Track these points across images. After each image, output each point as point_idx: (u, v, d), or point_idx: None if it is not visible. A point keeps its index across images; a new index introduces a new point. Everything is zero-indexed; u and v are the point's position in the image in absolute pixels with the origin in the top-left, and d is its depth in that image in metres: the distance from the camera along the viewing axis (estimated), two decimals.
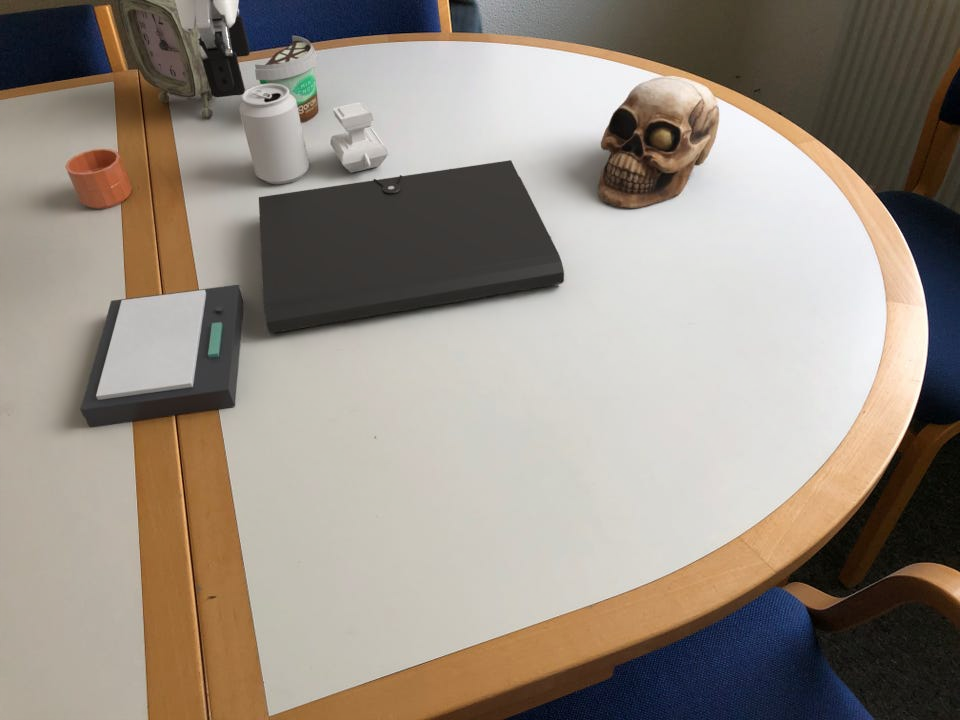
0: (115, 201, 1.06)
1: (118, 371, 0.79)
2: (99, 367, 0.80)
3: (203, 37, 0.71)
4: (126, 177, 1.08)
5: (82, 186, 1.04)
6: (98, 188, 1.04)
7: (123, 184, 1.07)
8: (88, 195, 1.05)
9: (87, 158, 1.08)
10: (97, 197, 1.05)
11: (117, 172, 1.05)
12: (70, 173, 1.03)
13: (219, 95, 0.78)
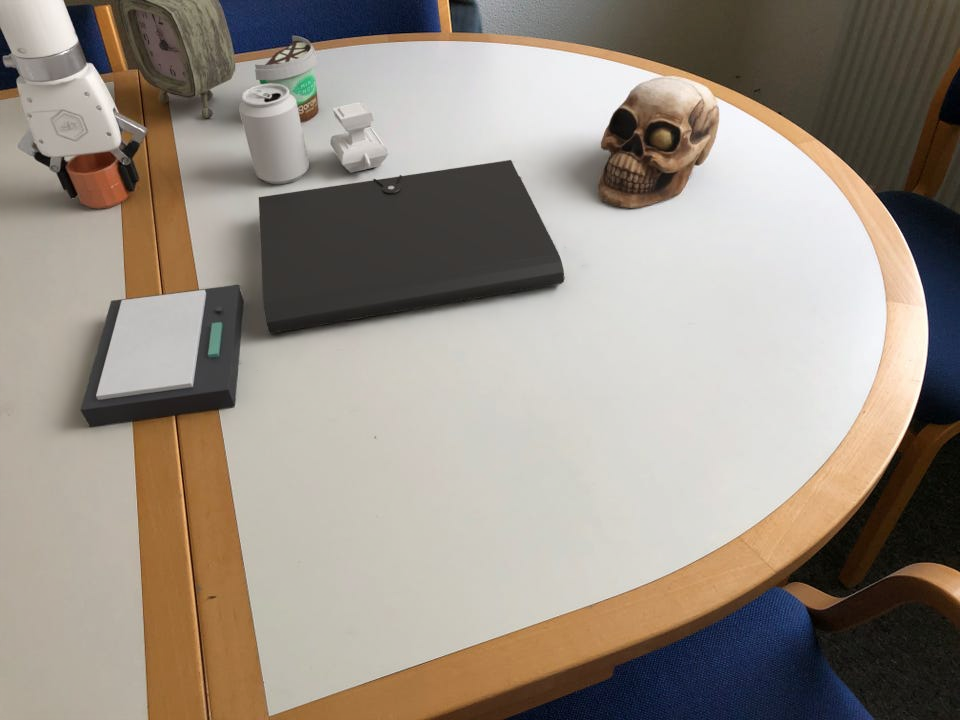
0: (115, 201, 1.06)
1: (118, 371, 0.79)
2: (99, 367, 0.80)
3: (142, 140, 1.04)
4: None
5: (82, 186, 1.04)
6: (98, 188, 1.04)
7: (123, 184, 1.07)
8: (88, 195, 1.05)
9: (87, 158, 1.08)
10: (97, 197, 1.05)
11: (117, 172, 1.05)
12: (70, 173, 1.03)
13: (133, 188, 1.08)
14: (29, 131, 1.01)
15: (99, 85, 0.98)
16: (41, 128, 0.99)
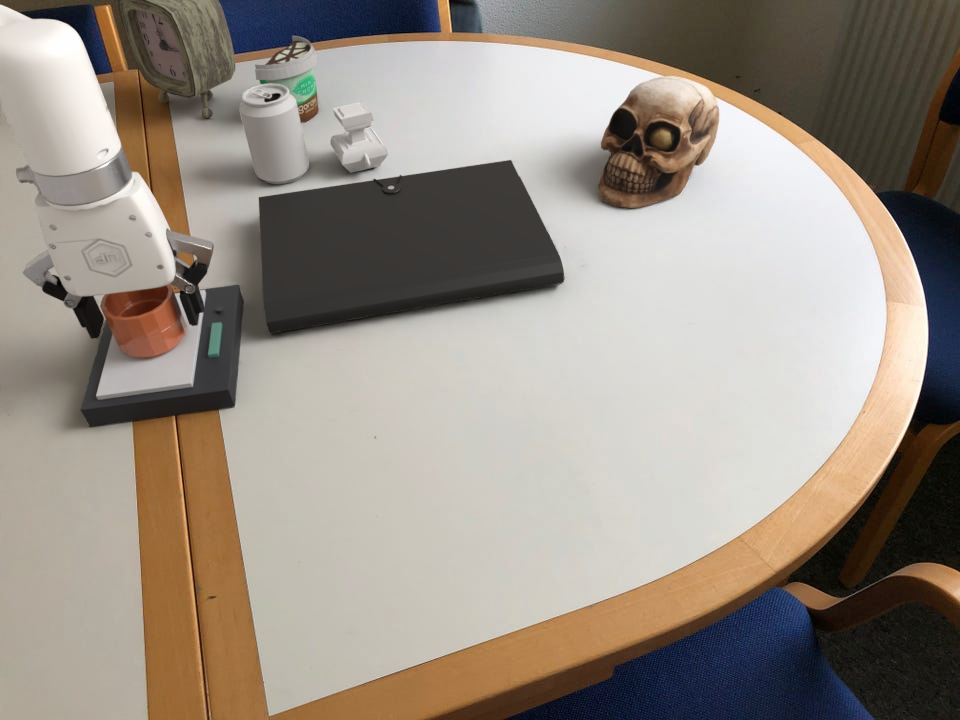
0: (166, 348, 0.79)
1: (118, 371, 0.79)
2: (99, 367, 0.80)
3: None
4: (180, 314, 0.81)
5: (123, 333, 0.77)
6: (145, 335, 0.77)
7: (177, 326, 0.80)
8: (131, 343, 0.78)
9: None
10: (143, 346, 0.78)
11: (170, 312, 0.78)
12: (107, 316, 0.76)
13: (197, 321, 0.80)
14: (45, 257, 0.73)
15: (149, 204, 0.71)
16: (68, 262, 0.71)
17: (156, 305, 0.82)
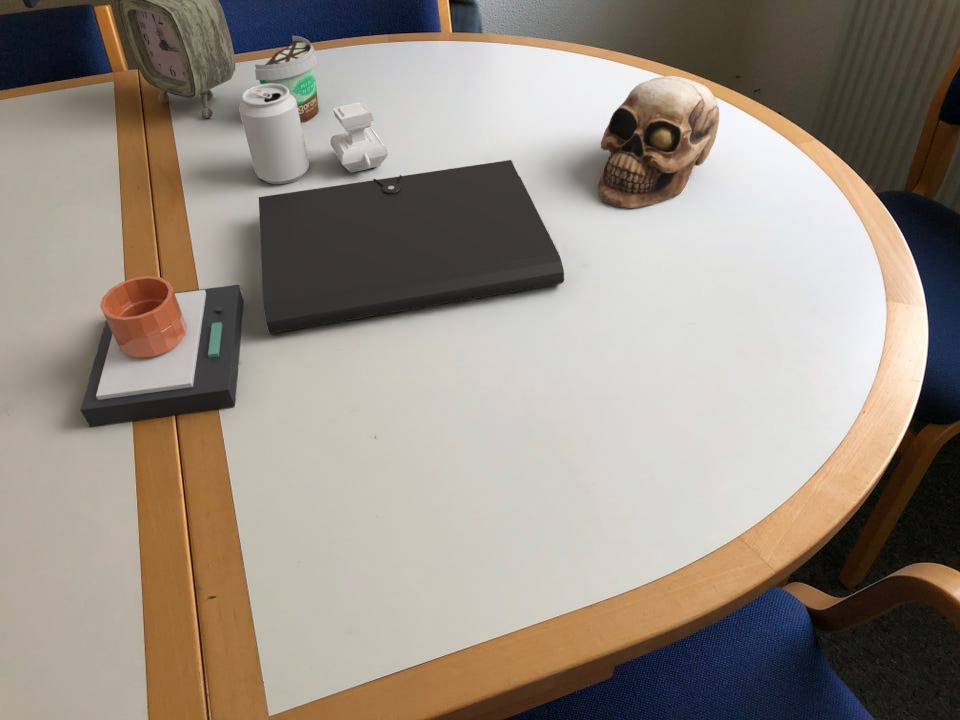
0: (166, 348, 0.79)
1: (118, 371, 0.79)
2: (99, 367, 0.80)
3: None
4: (180, 314, 0.81)
5: (123, 333, 0.77)
6: (145, 335, 0.77)
7: (177, 326, 0.80)
8: (131, 343, 0.78)
9: (128, 289, 0.81)
10: (143, 346, 0.78)
11: (170, 312, 0.78)
12: (107, 316, 0.76)
13: (34, 5, 0.83)
14: None
15: None
16: None
17: (156, 305, 0.82)
